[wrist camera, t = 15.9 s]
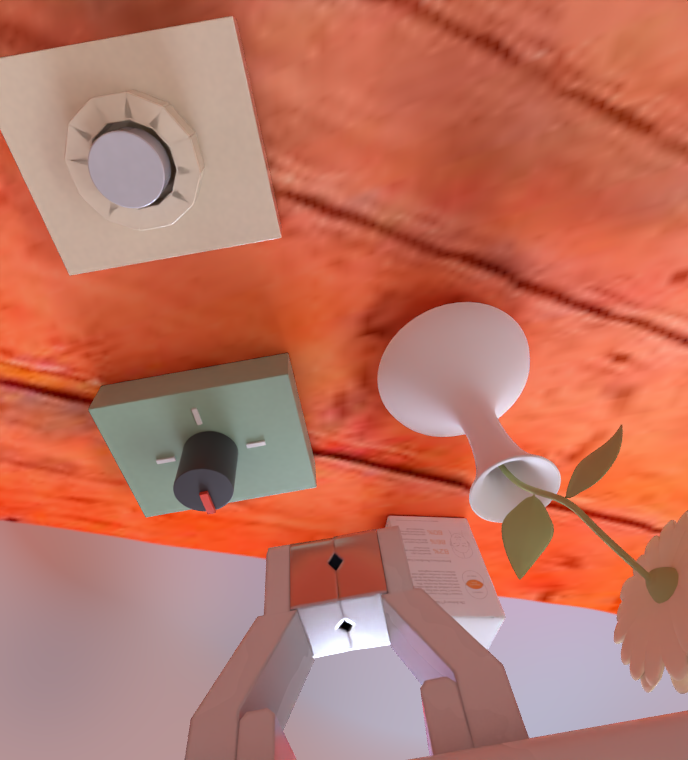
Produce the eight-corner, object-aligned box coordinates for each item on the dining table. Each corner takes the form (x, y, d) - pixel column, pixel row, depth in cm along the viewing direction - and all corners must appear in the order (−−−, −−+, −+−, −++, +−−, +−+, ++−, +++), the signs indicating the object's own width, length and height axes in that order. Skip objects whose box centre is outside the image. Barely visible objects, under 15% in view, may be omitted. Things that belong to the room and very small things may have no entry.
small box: (375, 552, 50) (394, 658, 42) (387, 513, 47) (410, 617, 39) (452, 554, 52) (485, 657, 43) (468, 516, 49) (507, 618, 40)
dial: (175, 436, 37) (163, 478, 33) (230, 426, 37) (223, 467, 33) (193, 476, 39) (183, 519, 35) (244, 466, 39) (240, 509, 35)
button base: (236, 18, 26) (228, 12, 23) (282, 227, 32) (281, 247, 29) (-10, 62, 26) (-54, 63, 23) (81, 263, 32) (57, 287, 29)
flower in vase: (443, 442, 43) (590, 804, 22) (343, 373, 39) (409, 750, 18) (567, 335, 39) (897, 666, 18) (470, 241, 34) (763, 542, 13)
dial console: (288, 352, 37) (288, 375, 35) (315, 462, 43) (316, 488, 41) (101, 385, 37) (86, 410, 35) (153, 490, 43) (145, 519, 41)
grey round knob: (157, 120, 25) (149, 124, 24) (180, 194, 27) (174, 202, 26) (86, 133, 25) (74, 137, 24) (115, 205, 27) (105, 214, 26)
